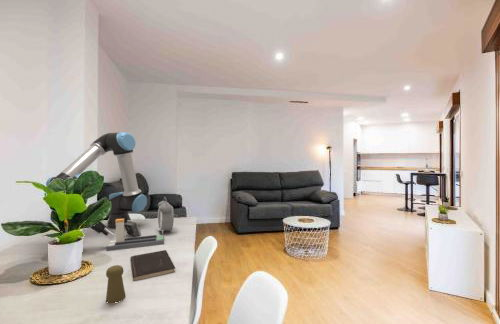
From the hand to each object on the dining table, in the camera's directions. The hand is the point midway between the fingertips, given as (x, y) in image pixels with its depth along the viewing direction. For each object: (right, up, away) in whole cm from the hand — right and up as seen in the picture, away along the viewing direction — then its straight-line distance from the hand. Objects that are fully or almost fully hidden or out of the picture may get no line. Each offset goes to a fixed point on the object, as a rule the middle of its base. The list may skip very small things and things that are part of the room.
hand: (113, 237), depth 137 cm
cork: (+27, -6, -50) cm, 57 cm away
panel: (+11, -5, +4) cm, 13 cm away
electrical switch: (+2, -5, +20) cm, 20 cm away
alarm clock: (+19, -4, +26) cm, 33 cm away
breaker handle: (+3, -3, +1) cm, 4 cm away
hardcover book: (+30, -6, -24) cm, 39 cm away
